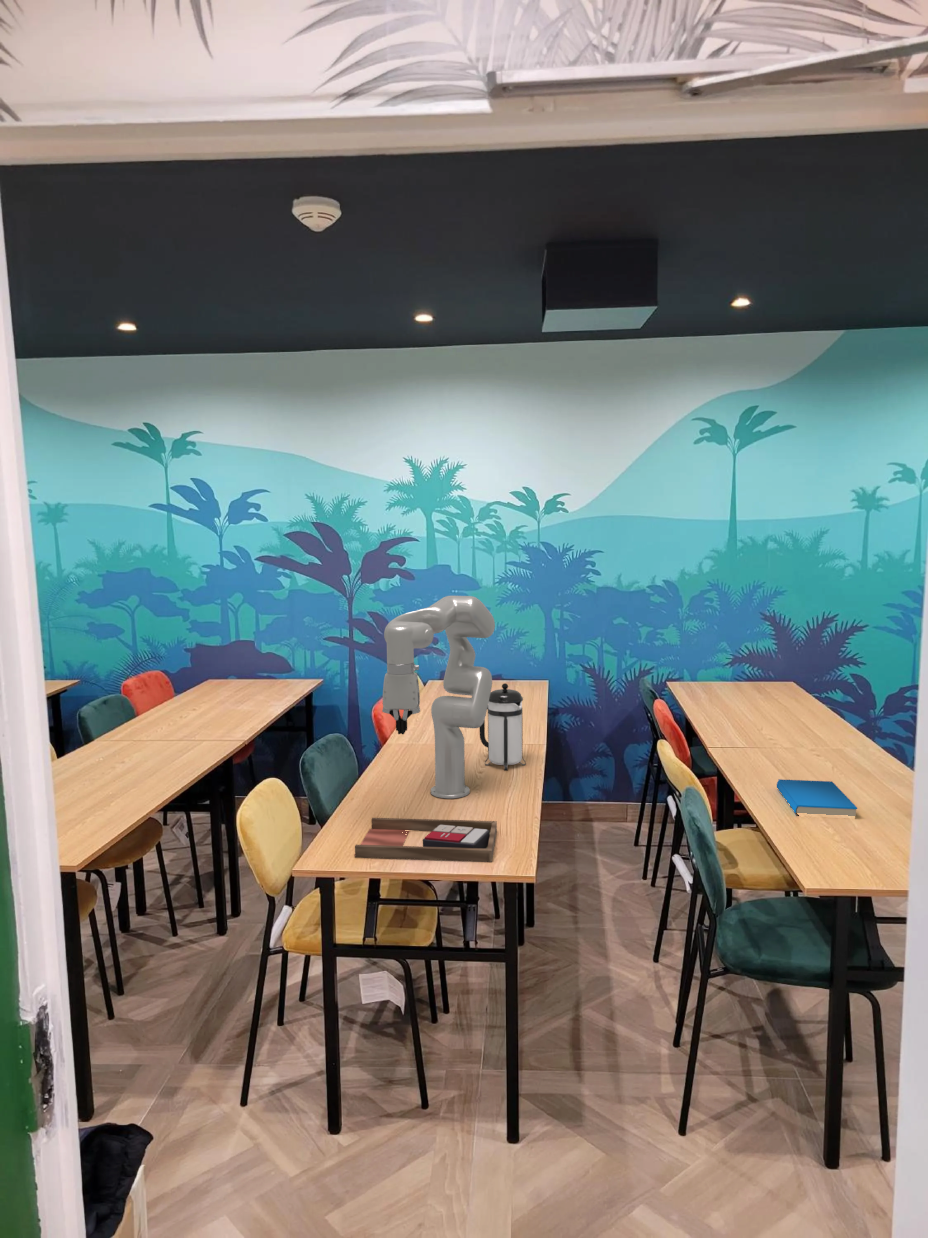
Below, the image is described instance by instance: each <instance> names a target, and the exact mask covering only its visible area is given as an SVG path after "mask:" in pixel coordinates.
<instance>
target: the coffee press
mask: <svg viewBox="0 0 928 1238" xmlns="http://www.w3.org/2000/svg"><path fill="white" fill-rule="evenodd" d="M508 688H509V685H508V684H507V683H502V684H501V688H500V689H495V690H491V694H490V698H489V703H488V707H487V738H488V740H487V739H486V735H485V734H486V733H485V732H486V731H485V730H486V729H485V727H486V724H485V723H486V721H485V720H484V722H483V724H482V726H480V727H479V740H480V742H481V744H482V745H483V746H484V747H486V748H487V752H488V757H486V760H485V761H484V765H485V766H487V767H488V766H489V765H491V764H494V765H500V766H503V771H504V772H505V771H506V772H507V771H509V767H508V766H512V765H516V764H520V765H522V766H526V764H527V763H526V760H525V759H524V757H523V754H524V753H523V746H524V745H523V743H524V741H523V734H524V733H523V732H524V731H523V729H524V728H523V727H524V725H523V700H524V697H523V696H522V694H521V692H519V691H518V690H516V689H510V688H509V689H508ZM488 760H489V761H490V762H488V763H487V761H488ZM522 761H524V764H523V763H522Z"/></svg>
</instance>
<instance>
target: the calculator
mask: <svg viewBox="0 0 928 1238" xmlns="http://www.w3.org/2000/svg"><path fill="white" fill-rule="evenodd" d="M489 837H490V831H489V830H487V829H473V828H472V827H461V826H457V827H455V826H450V825H439V826H438V827H437V828H435V829H434V830H433V831H429V833H428V834H427V835H426V836H425V837H424V838H422V847H451V848H483V849H485V848H486V847H487V846H488V842H489Z"/></svg>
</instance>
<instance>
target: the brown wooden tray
mask: <svg viewBox="0 0 928 1238" xmlns="http://www.w3.org/2000/svg"><path fill="white" fill-rule="evenodd" d="M370 819H371V822H370V823H371V828H369V829H368V831H367V833H366V834H365V836H364V838H363V839H362V841H361V843H360V844H355V845H354V854H353V856H354V858H355V859H356V858H357V859H358V858H360V859H362V858H364V859H390V860H393V859H394V860H415V861H416V860H419V861H420V860H421V861H447V862H448V861H453V862H455V861H456V862H476V863H477V862H482V863H483V862H484V863H492V862H493V857H494V851H495V844H496V839H497V833H498V826H497V824H498V823H497V822H498V821H497V820H471V819H470V820H467V819H463V820H462V819H437V818H436V819H430V818H399V817H398V818H397V817H371V818H370ZM439 825H450V826H455V827H457V826H461V827H472V828H473V829H487V830H489V831H490V837H489V842H488V846H487V847H486V848H485V849H483V848H451V847H423V846H417V845H415V846H412V845H411V846H410V845H404V843H405V841H406V840H405V839H407V837H408V834H409V833H410V831H405V830H419V831H418V832H432V831H433V830H434V829H435V828H437V827H438V826H439ZM402 832H403V833H402ZM406 832H407V833H406ZM405 834H407V835H405Z"/></svg>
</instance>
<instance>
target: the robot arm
mask: <svg viewBox="0 0 928 1238" xmlns="http://www.w3.org/2000/svg"><path fill="white" fill-rule="evenodd" d="M495 623H496V622H495V618H494V616H493V614H492V613H491V612H490V610H489V609H488V607H487V606H485V604H484V603H483V602H482V601H481V600H480V599H478V598H477V597H476V596H472V595H446V596H444V597H442V598H440V599H439V600H438V601H436V602H434V603H433V604H431V605H429V606H428V607H425V608H421V609H416V610H413V611H409V612H406V613H403V614H400V615H398V616H396V617H395V618H393V619H391V620H390V621H389V622H388V623H387V624H386V626H385V628H384V632H383V637H384V640H385V643H386V670H387V671H386V673H385V675H384V677H383V678H384V679H383V688H382V709H381V711H382V713H383V714H389V715H390V716H392V718H393V719H394V720H395V731H396V732H397V734H398V735H405V733H406V731H408V719H409V717H411V716H412V715H416V714H418V713H420V712H421V708H420V703H421V697H420V695H421V694H420V685H419V683H420V682H419V677H418V674H417V672H415V671H419V670H420V665H419V664H416V663H415V656H414V655H415V653H414V651H415V649H426V648H428V647H429V646H430V645H431V644H432V643H433V640H434V637H435V636H434V635H435V634H439V633H442V632H443V631H444V632H445V634H446V638H447V642H448V644H449V645H448V646H449V656H448V659H447V665H446V667H445V668H446V669H445V673H444V677H443V681H442V683H443V684H442V685H443V689H444V691H445V692H447V693H449V694H451V695H442V696H438V697H437V698H435V699H434V700H433V702H432V704H431V709H430V711H431V718H432V723H433V724H432V725H433V732H434V767H435V768H434V772H435V775H434V777H435V779H434V780H435V781H434V783H435V785H433V786H432V787H431V788H430V794H431V796H434V797H436V798H439V799H451V800H452V799H459V798H464V797H466V796H468V795H469V794H470V792H471V791H470V790H471V789H470V787H469V786H467V785H466V783H465V782H466V781H465V780H466V778H465V777H466V775H465V772H466V770H465V765H466V764H465V761H466V760H465V737H464V734H463V732H462V731H461V729H460V728H466V729H480V726H482V724H483V722H484V720H485V719H486V716H487V713H488V709H487V707H488V703H489V698H490V694H491V692H492V688H493V676H492V672H491V671H490V670H489V668H486V667H484V666H476V665H475V661H476V652H475V649H474V647H473V645H472V644H471V642H470V641H469V639H468V638H472V639H473V638H475V639H477V638H478V639H487V638H489V637H491V636H493V634H494V632H495V627H496V624H495ZM455 695H456V696H455ZM457 695H459V696H457ZM460 695H462V696H460ZM464 696H471V697H464ZM400 710H401V711H403V713H402V716H401V714H400Z"/></svg>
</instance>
